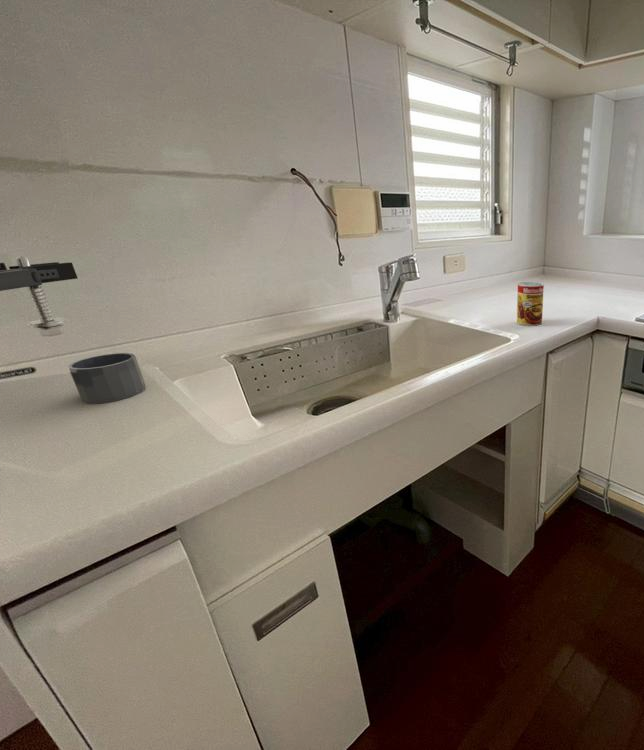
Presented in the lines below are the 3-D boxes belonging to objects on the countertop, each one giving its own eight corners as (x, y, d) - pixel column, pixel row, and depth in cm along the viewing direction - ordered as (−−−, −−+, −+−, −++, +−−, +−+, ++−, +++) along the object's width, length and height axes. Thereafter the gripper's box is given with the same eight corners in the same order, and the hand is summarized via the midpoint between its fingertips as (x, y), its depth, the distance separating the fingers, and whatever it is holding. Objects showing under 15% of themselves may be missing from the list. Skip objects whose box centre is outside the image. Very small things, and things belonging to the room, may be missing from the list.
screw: (76, 329, 72) (68, 335, 68) (38, 333, 69) (27, 339, 65) (47, 253, 67) (36, 255, 63) (4, 254, 64) (-10, 257, 61)
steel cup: (69, 400, 72) (54, 366, 69) (124, 382, 80) (112, 351, 77) (104, 406, 70) (90, 371, 67) (157, 387, 77) (146, 355, 75)
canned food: (526, 327, 121) (528, 286, 117) (512, 321, 127) (512, 283, 123) (547, 323, 125) (549, 284, 120) (531, 318, 131) (533, 281, 127)
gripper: (-183, 323, 50) (37, 291, 72) (-81, 326, 49) (112, 293, 71) (-222, 261, 48) (19, 247, 69) (-116, 263, 46) (96, 248, 68)
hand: (66, 270), depth 70 cm, fingers closed on screw, 2 cm apart
